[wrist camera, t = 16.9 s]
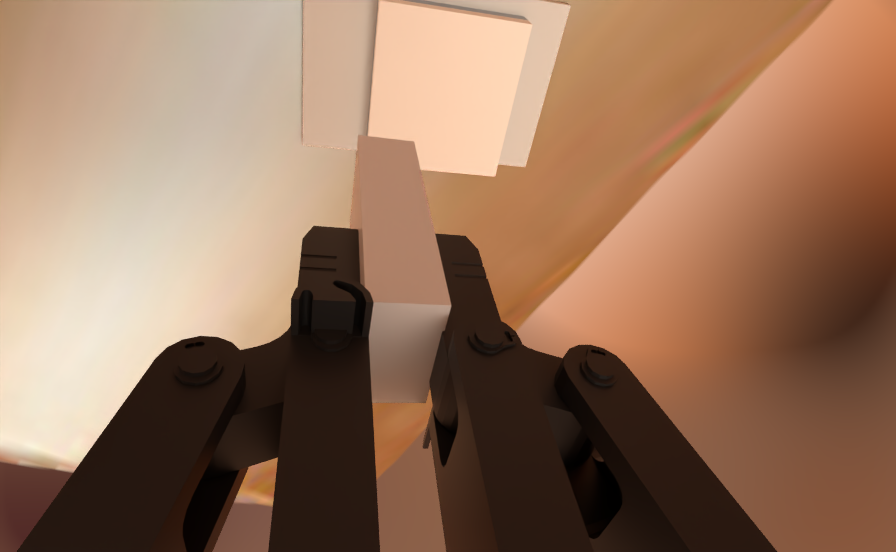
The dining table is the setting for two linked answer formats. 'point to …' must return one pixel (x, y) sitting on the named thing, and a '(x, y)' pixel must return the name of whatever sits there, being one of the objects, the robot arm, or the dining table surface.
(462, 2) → the mat
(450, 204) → the dining table surface
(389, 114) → the tile
